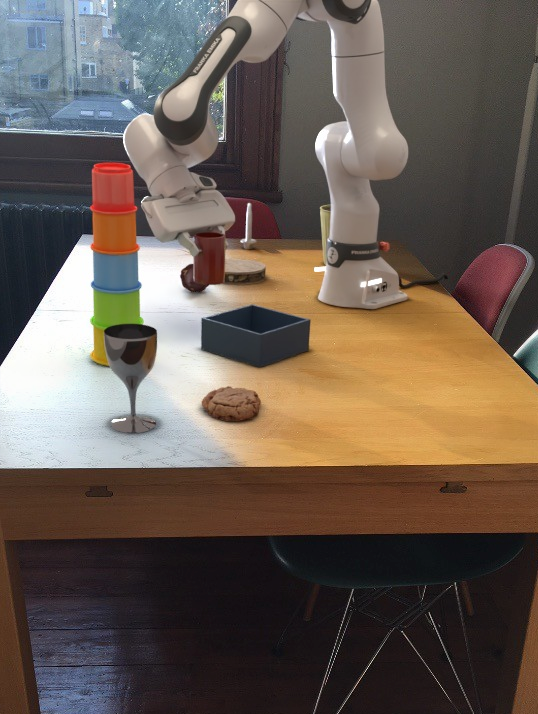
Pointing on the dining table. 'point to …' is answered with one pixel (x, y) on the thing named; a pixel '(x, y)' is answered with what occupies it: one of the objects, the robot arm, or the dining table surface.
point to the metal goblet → (131, 367)
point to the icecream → (190, 280)
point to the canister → (209, 258)
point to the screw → (248, 229)
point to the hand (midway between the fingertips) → (211, 251)
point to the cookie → (231, 403)
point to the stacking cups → (113, 253)
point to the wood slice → (243, 271)
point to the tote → (255, 335)
